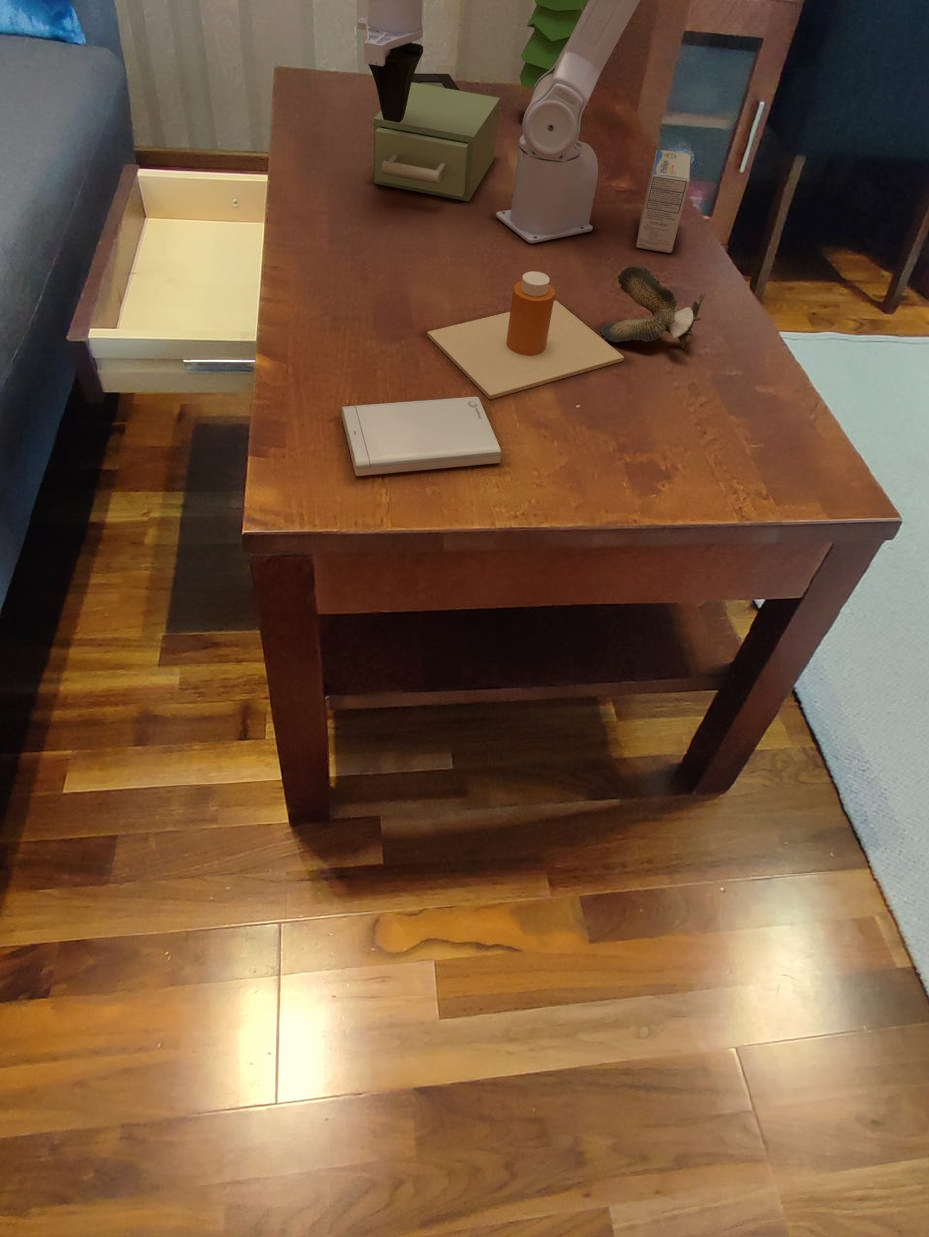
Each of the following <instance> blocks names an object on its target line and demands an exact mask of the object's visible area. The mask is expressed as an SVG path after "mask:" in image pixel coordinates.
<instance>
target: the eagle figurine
mask: <svg viewBox="0 0 929 1237" xmlns="http://www.w3.org/2000/svg"><path fill="white" fill-rule="evenodd" d="M616 278H617V279H618V284H619V285H620V289H621V290H622V291H623V292H624V293H626V294H627V295H628V296H629V297H630V298H631V299H632V300H633V301H634V302H635V303H636V304H637V305H639V306H641V307H643V308H645V309H646V310H647V311H649V312H650V313H651V314H652V315H651V316H650V317H649V316H648V317H642V318H628V319H624V320H622V321H611V322H610V323H606V324H605V326H602V327H600V330H599V332H600V335H601V336H603V337H604V340H607V341H608V342H611V343H623V342H631V341H640V340H641V342H645V343H649V342H652V341H657V340H658V339H659V338H660V336H661V335H663V334H664V332H666V333H669V334H671V337H672V338H673V339H678V341H679V346H680V348H681V349H682V350H684V349H685V348H686V344H687V340H688V336H690V337H693V336H694V333H693V330H692V328H693V326H694V323H695V322H696V321H701V320H702V318H701V317H700V316H698V315H699V312H700V309H701V307H702V303H703V300H704V298H705V296H706V293H705V292H702V293H701V294H700V296H699V297H697V300H694V301H693V303H692V305H691V307H690V306H686V307H684V308H682V309H679V310H677V311H675V309H676V306H677V299H676V297H675V295H674V292H672V290H671V288H666V286H663V285H662V284H661V283H660V280H658V279H656V278H655V276H654V275H653V274H652V272H651V270H650V269H647V267H643V266H641V267H640V266H635V265H628V267H625V268H624V269H623V270H621V271H620V273H619V274H618V275H617V276H616Z"/></svg>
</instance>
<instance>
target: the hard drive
mask: <svg viewBox="0 0 929 1237" xmlns="http://www.w3.org/2000/svg"><path fill="white" fill-rule="evenodd" d="M341 420H342V424H343V429H344V433H345V437H346V441H347V446H348V450H349V453H350V458H351V462H352V467H353V472H354V475H355V477H362V476H371V475H384V474H396V473H404V472H416V471H426V470H428V471H429V470H437V469H439V470H440V469H448V468H449V469H450V468H459V467H469V466H471V467H472V466H480V465H491V464H500V462H501V458H502V449H501V447H500V444H499V442H498V440H497V436H496V435H495V433H494V430H493V428H492V426H491V422H490V421H489V418H488V416H487V413H486V412H485V409H484V407H483V404H482V402H481V399H480V397H479V396H465V397H455V398H454V397H453V398H452V397H451V398H441V399H427V400H412V401H411V400H410V401H400V402H387V403H372V404H359V405H349V406H341Z"/></svg>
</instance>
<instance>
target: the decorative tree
mask: <svg viewBox="0 0 929 1237" xmlns="http://www.w3.org/2000/svg"><path fill="white" fill-rule="evenodd" d="M588 1H589V0H534V3H535V5H536V6H535V8H534V10H533V12H532V14H531V16H530V18H529V20H528V23H527V24H526V27H528V28H529V27H530V28H533V32H532V34H531V35H530V38H529V39H528V40H527V43H526V45H525V46H524V48H523V50H522V52H521V54H520V57H521V59H522V62H524V64H523V66H522V69H521V72H520V74H519V80H520V84H521V86H523V87H526V88H529V89H531V90H533V89H534V86H535V84H536V83H537V81H538V80H539V79H540V78H541V77H542V76H543V75H544V74H545V73H547V72H548V71H549V70H550V69H551V68H552V67H553V66H554V65H555V63H556V61H557V60H558V58H559V56H560V54H561V52H562V50H563V49H564V47H565V45H566V44H567V42H568V40H569V38H570V36H571V34H572V32H573V30H574V28H575V26H576V24H577V22H578V20H579V18H580V16H581V14H582V12H583V9H582V8H584V7H585V6H586V5H587V3H588Z"/></svg>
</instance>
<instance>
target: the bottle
mask: <svg viewBox="0 0 929 1237" xmlns="http://www.w3.org/2000/svg"><path fill="white" fill-rule="evenodd" d="M550 280H551V278H550V277H549V276H548V275H547V274H546V273H544V272H541V271H533V270H532V271H527V272H525V273H524V274H522V277H521V280H520V281H517V282H516V283H515V284H514V285H513V289H512V296H511V302H510V309H509V310H510V311H509V312H510V318H509V326H508V333H507V341H506V344H507V346H508V348H509V349H510V350H512V351H513V352H515V353H518V354H521V355H529V356H531V355H537V354H540V353H542V352H543V351H544V350H545V348H546V343H547V337H548V332H549V326H550V320H551V314H552V308H553V302H554V301H555V296H556V290H555V288H554V287H553V286H552V285H551V284H550Z"/></svg>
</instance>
